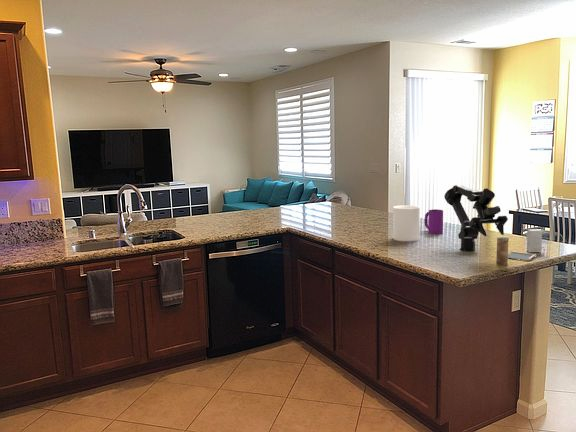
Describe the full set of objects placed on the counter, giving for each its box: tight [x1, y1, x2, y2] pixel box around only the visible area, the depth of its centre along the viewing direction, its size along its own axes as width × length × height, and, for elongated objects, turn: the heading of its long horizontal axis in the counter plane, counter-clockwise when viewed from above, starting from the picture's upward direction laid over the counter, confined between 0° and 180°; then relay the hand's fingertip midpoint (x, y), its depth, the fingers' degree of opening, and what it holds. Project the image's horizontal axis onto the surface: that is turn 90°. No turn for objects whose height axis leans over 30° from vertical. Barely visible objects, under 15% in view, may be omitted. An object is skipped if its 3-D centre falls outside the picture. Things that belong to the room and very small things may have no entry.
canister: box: [392, 204, 421, 242], centre depth 295 cm, size 16×16×20 cm
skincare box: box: [526, 228, 543, 253], centre depth 252 cm, size 6×4×12 cm
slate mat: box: [508, 250, 537, 262], centre depth 242 cm, size 12×12×1 cm
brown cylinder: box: [495, 236, 509, 266], centre depth 230 cm, size 5×5×13 cm
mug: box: [424, 208, 444, 235], centre depth 313 cm, size 9×16×15 cm, turn 22°
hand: (494, 235), depth 236 cm, fingers open, 9 cm apart
